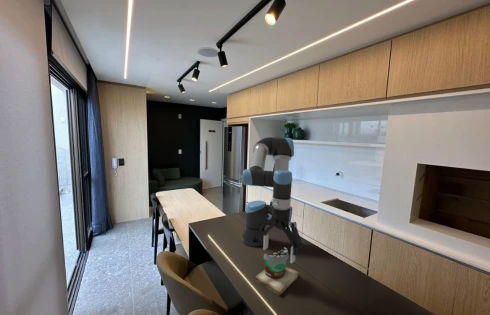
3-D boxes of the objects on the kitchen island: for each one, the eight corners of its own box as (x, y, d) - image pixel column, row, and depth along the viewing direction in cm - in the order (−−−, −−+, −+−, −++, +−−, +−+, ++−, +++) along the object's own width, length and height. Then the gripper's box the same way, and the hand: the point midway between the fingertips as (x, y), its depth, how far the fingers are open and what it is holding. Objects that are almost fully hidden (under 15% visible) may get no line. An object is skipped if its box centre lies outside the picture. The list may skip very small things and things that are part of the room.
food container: (271, 284, 81) (272, 261, 80) (262, 275, 86) (263, 253, 85) (293, 275, 87) (295, 253, 86) (284, 267, 93) (285, 246, 92)
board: (254, 281, 85) (254, 276, 85) (275, 264, 97) (275, 260, 97) (279, 296, 77) (279, 291, 77) (298, 276, 89) (298, 272, 89)
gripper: (252, 201, 90) (250, 246, 92) (305, 218, 74) (301, 272, 76) (262, 198, 96) (260, 240, 98) (313, 212, 79) (309, 263, 81)
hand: (278, 254), depth 87 cm, fingers open, 13 cm apart
